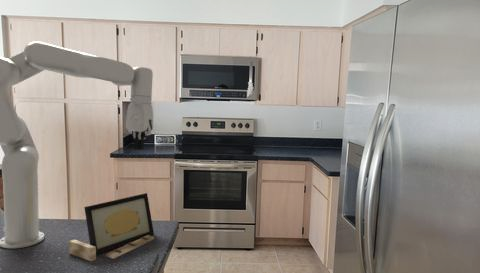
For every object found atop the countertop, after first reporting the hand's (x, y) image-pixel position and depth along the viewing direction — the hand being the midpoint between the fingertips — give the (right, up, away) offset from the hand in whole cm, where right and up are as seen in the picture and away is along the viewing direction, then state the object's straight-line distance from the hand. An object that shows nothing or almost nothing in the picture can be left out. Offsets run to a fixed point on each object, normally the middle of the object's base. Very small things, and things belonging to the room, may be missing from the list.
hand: (138, 149), depth 128 cm
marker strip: (+3, -32, -17) cm, 36 cm away
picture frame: (-3, -31, -12) cm, 34 cm away
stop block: (-10, -32, -24) cm, 41 cm away
